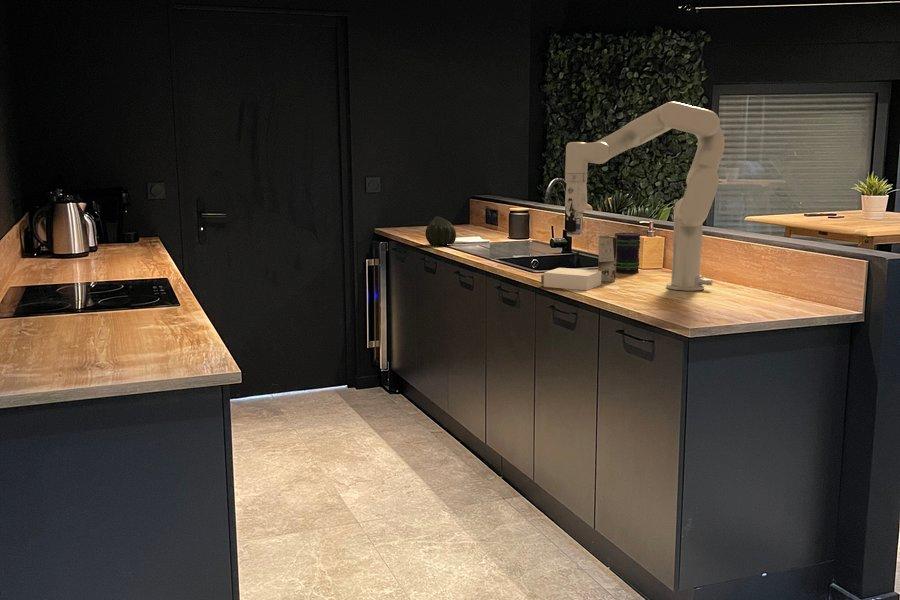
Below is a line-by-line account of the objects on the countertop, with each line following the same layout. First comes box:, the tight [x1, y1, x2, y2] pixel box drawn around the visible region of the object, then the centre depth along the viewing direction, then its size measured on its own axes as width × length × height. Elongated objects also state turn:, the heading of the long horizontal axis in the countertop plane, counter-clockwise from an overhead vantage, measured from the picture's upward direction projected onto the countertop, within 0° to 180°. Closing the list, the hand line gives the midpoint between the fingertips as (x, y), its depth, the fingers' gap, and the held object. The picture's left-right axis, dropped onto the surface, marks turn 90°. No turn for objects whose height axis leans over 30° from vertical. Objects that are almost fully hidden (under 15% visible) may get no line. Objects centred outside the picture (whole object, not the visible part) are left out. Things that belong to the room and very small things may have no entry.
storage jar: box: [614, 232, 641, 275], centre depth 336 cm, size 10×10×15 cm
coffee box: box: [597, 234, 617, 283], centre depth 316 cm, size 9×6×16 cm
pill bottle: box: [566, 210, 584, 238], centre depth 300 cm, size 5×5×10 cm
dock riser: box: [540, 267, 602, 291], centre depth 304 cm, size 17×14×5 cm
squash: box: [424, 215, 457, 247], centre depth 426 cm, size 14×15×15 cm
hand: (574, 230), depth 301 cm, fingers closed on pill bottle, 5 cm apart
